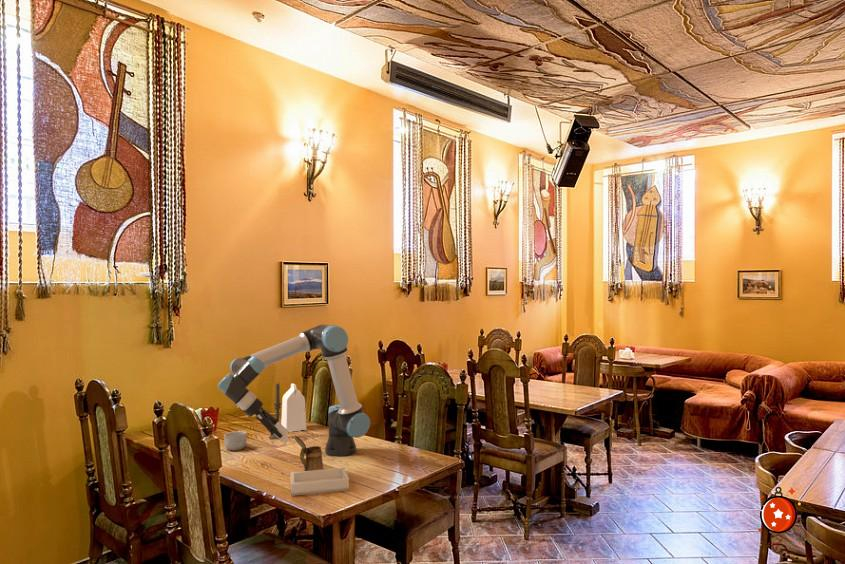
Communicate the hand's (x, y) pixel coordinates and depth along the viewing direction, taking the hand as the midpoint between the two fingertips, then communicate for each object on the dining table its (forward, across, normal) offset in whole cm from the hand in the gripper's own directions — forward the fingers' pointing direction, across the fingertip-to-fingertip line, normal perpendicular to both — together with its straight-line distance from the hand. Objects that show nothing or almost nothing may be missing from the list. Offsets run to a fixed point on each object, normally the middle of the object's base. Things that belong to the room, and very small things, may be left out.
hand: (287, 437), depth 236 cm
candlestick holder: (+9, -70, -15) cm, 72 cm away
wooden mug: (+18, 0, -5) cm, 19 cm away
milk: (+15, -87, -8) cm, 89 cm away
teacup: (-5, -54, -29) cm, 62 cm away
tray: (+20, +16, -3) cm, 26 cm away
